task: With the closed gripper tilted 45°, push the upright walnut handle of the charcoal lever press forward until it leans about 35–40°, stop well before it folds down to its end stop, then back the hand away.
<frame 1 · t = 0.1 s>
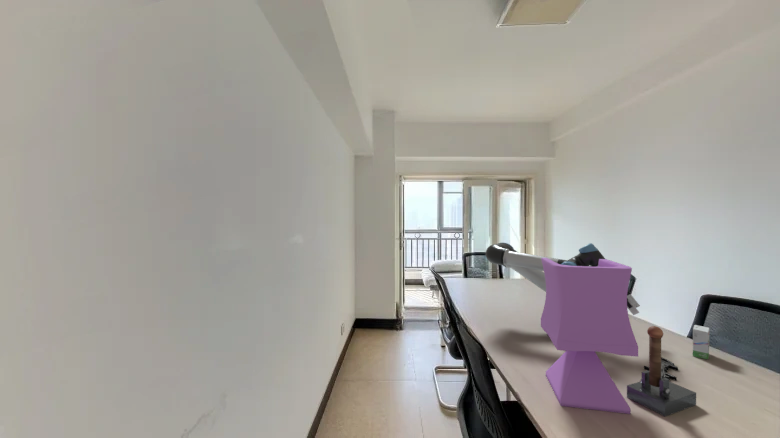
hand: (636, 310, 153), 15 cm above the table, tool tilted 35°, fingers open, 13 cm apart
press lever: (655, 355, 104), point 15 cm above the table, hinge at 0.0°
nameplate: (660, 373, 124), on the table
ink box: (701, 355, 139), on the table
press base: (654, 403, 104), on the table
purple pedestal vase: (583, 393, 110), on the table
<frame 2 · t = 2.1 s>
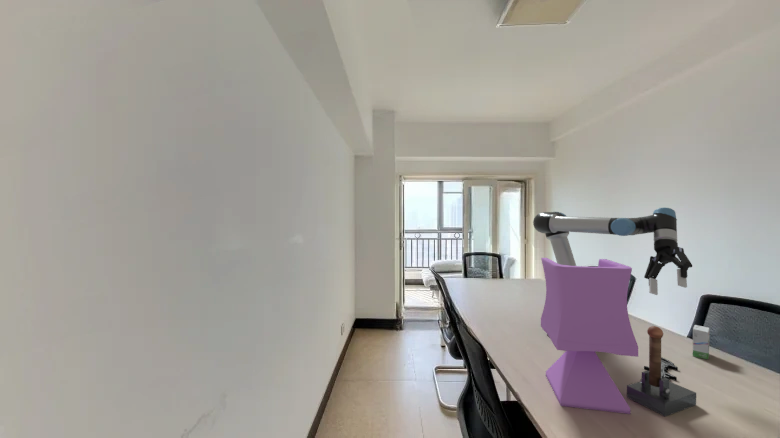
hand: (667, 290, 125), 32 cm above the table, tool tilted 30°, fingers open, 13 cm apart
nothing on the table moved.
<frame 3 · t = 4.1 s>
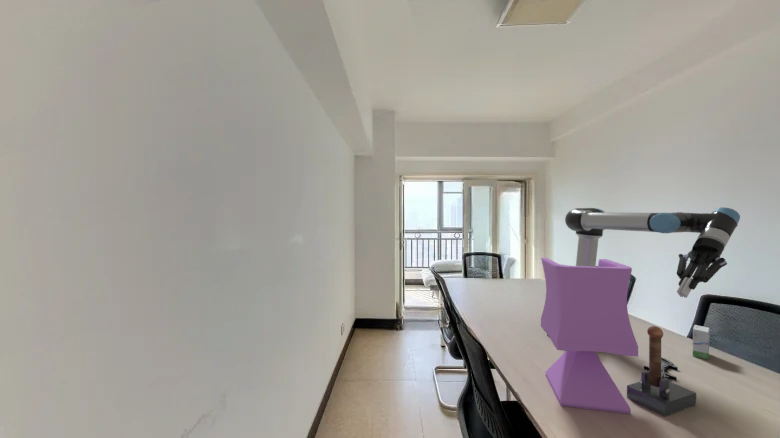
hand: (681, 294, 108), 34 cm above the table, tool tilted 45°, fingers closed
nothing on the table moved.
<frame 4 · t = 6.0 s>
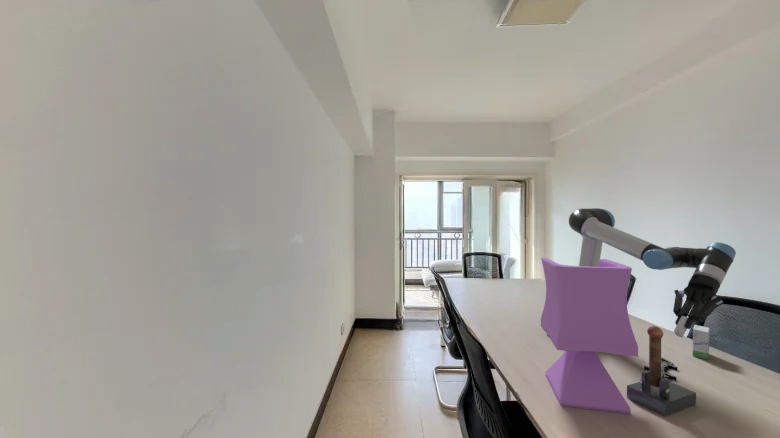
hand: (678, 334, 106), 21 cm above the table, tool tilted 45°, fingers closed
nothing on the table moved.
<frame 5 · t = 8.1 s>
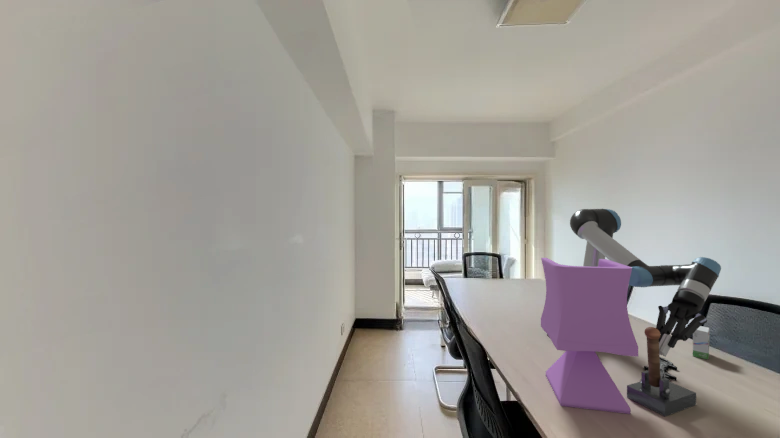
hand: (660, 353, 104), 16 cm above the table, tool tilted 45°, fingers closed
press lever: (653, 356, 103), point 15 cm above the table, hinge at 4.8°, touching gripper
everything else where it was.
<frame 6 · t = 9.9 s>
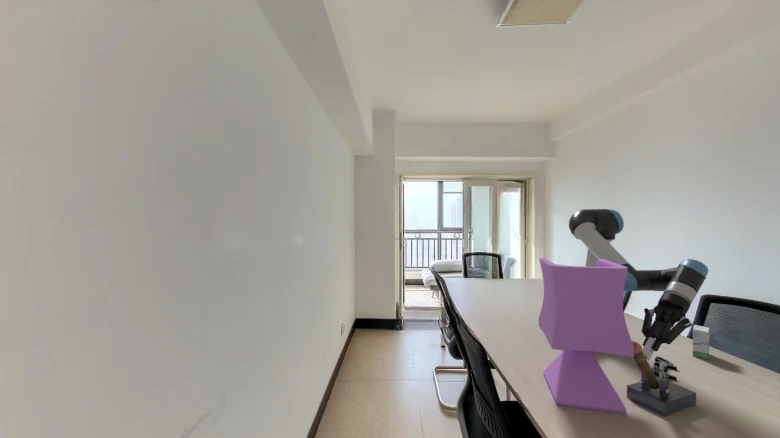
hand: (644, 356, 102), 16 cm above the table, tool tilted 45°, fingers closed
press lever: (643, 364, 102), point 14 cm above the table, hinge at 36.4°, touching gripper
purple pedestal vase: (580, 393, 110), on the table
everything else where it was.
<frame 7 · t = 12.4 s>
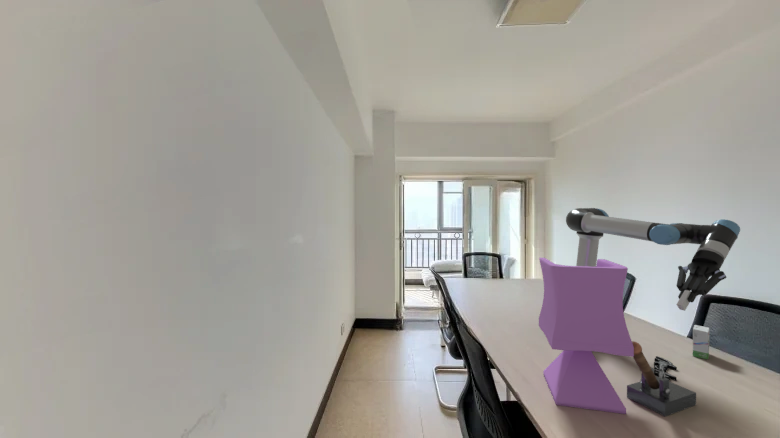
hand: (680, 307, 108), 30 cm above the table, tool tilted 45°, fingers closed
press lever: (643, 364, 102), point 14 cm above the table, hinge at 36.5°
everything else where it was.
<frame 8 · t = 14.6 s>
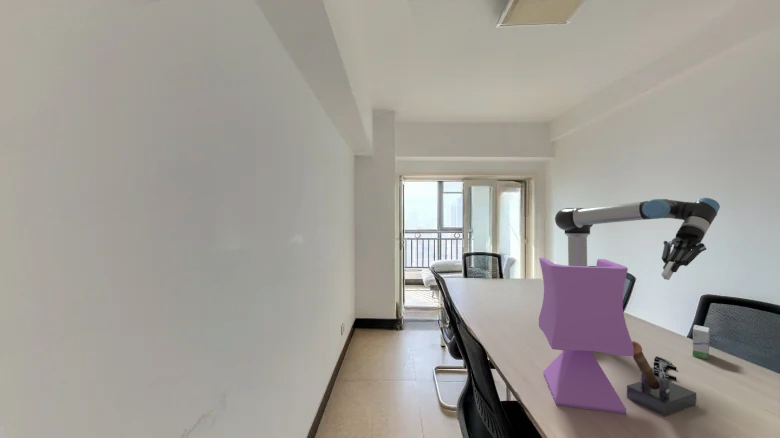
hand: (665, 277, 118), 38 cm above the table, tool tilted 45°, fingers closed
nothing on the table moved.
at the end: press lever at +36° (first picture: +0°) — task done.
